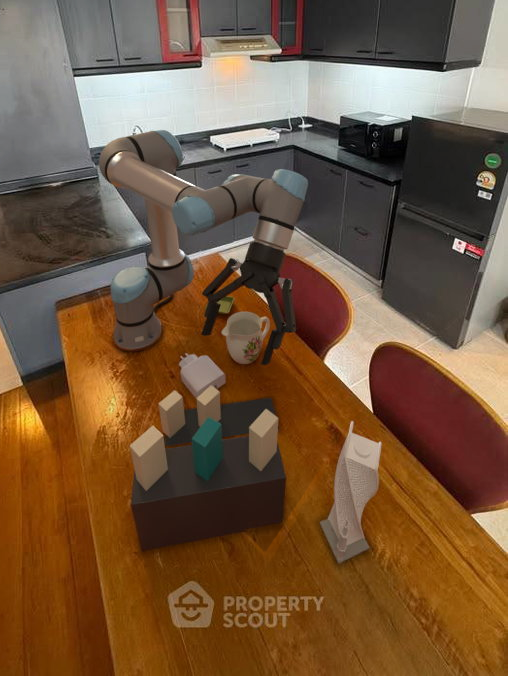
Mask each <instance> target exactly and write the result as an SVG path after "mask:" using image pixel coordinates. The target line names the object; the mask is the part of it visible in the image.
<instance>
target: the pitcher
mask: <svg viewBox="0 0 508 676" xmlns="http://www.w3.org/2000/svg"><path fill="white" fill-rule="evenodd" d="M264 322H265V327H264V330H263V331H262V328H263V323H264ZM270 328H271V322H270V318H268V317H267V316H262V317H260V316H259V315H258V314H256V313H254V312H252V311H244V310H243V311H238V312H235V313H233V314H232V315H230V316H229V317H228V318H227V320H226V325H225V327H223V328H222V330H221V335H222V336H224V337H225V341H226V348H227V351H228V353H229V355H230V357H231V358H232V359H233V361H234V362H236V363H237V364H240V365H249V364H251V363H253V362H255V361H256V360H257V359H258V357H259V355H260V353H261V351H262V348H263V343H264V339H265V338H266V336H267V335H268V333H269V331H270Z"/></svg>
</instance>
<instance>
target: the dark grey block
mask: <svg viewBox="0 0 508 676" xmlns="http://www.w3.org/2000/svg"><path fill="white" fill-rule="evenodd" d="M216 388H217V387H216ZM216 388H214V387H213V386H212V385H211V386H210V387H209V388H207V389H206V390H205V391H204V392H203V393H202V394H201V395H200V396H199V397H197V398H195V399H196V407H194V408H188V409H185V407H184V398H183V396H182V395H181V394H180V393H178V391H177V390H175V389H174V390H173V391H172V392H170V393H169V394H168V395H167V396H166V397H165V398H163V399H162V400H161V401H160V402H158V410H159V417H160V424H161V431H162V432H163V434H165V441H164V445H165V447H171V446H177V445H183V444H189V443H191V444H192V438H193V436H194V435H195V434H196V432H197V431H198V430H199V428H200V427H201V426H202V424H203V423H204V422H205V420H206V419H207V418H208V417H210V418H212V419H214V420H215V421H217V422H219V423H220V424H221V425H222V439H223V438H229V437H234V436H235V437H236V436H241V435H242V436H243V435H247V434H248V435H249V427H250V426H251V425H252V424H253V422H254V421H255V420H256V419H257V418H258V417H259V416H260V415H261V414H262V413H263V411H264V410H265V409H267V410H268V411H270V412H271V413H272V414H274V415H275V416H276V417H277V414H276V410H275V407H274V402H273V398H272V397H265V398H259V399H251V400H250V399H249V400H243V401H238V402H237V401H236V402H229V403H223V404H221V391H219V390H218V388H217V389H216ZM278 430H280V427H279V425H278Z"/></svg>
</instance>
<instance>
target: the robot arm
mask: <svg viewBox="0 0 508 676" xmlns="http://www.w3.org/2000/svg"><path fill="white" fill-rule="evenodd" d="M183 161H184V153H183V149H182V146H181V144H180V142H179V140H178V139H177V138H176V136H175V135H174V134H173V133H172V132H170V131H168V130H165V129H159V130H150V131H145V132H141V133H136V134H132V135H128V136H122V137H117V138H115V139H113V140H111V141H110V142H108V143H107V144H106V145H105V146H104V148H103V149H102V150H101V153H100V155H99V160H98V167H99V171H100V173H101V175H102V176H103V178H104V179H105V181H107V182H108V183H109V184H111V185H112V186H114V187H116V188H118V189H127V190H129V191H131V192H133V193H135V194H137V195H138V196H140V197H142V198H144V205H145V211H146V212H145V213H146V219H147V226H148V231H149V239H150V246H151V253H150V254H149V255H148V257H147V259H148V266H146V267H143V266H140V265H135V266H129V267H125V268H123V269H121V270H120V271H118V272H117V273H116V274H115V275H114V276H113V278H112V279H111V282H110V298H111V301H112V304H113V311H114V316H115V319H116V320H115V324H114V328H113V333H112V338H113V342H114V344H115V346H116V348H118V349H119V350H121V351H124V352H127V353H137V352H143V351H145V350H147V349H150V348H151V347H153V346H154V345H155V344H156V343H157V342H158V341H159V340H160V339H161V336H162V333H163V328H162V323H161V320H160V319H159V317H158V315H156V313H155V310H156V309H157V308H158V307H160V306H162V305H164V304H165V303H167V302H169V301H171V299H172V298H173V296H174V294H175V293H177V292H181V291H182V290H184V289H185V288H186V287H188V286H189V285H190V284H191V283H192V281H193V279H194V276H195V275H194V274H195V273H194V271H195V270H194V266H193V264H192V260H191V259H190V257H189V256H188V255H187V254H185V252H184V251H183V250H182V249H180V244H179V235H178V229H179V231H180V233H181V234H183V235H185V236H190V237H192V236H195V235H198V234H203V233H206V232H208V231H210V230H212V229H213V228H215V227H218V226H220V225H222V224H224V223H226V222H229V221H231V220H233V219H236V218H238V217H241V216H243V215H245V214H247V213H249V212H250V213H251V212H253V213H257V214H259V216H258V220H257V222H256V225H255V227H254V231H253V233H252V236H251V237H252V239H253V241H251V242H249V246H248V248H247V251H246V254H245V257H244V260H243V261H242V262H241V261H239V259H237V258H233V257H230V258H229V259H228V261H227V263H226V265H225V267H224V268H223V269H222V271H220V272H219V273H218V274H217V276H215V277H214V279H213V280H212V281H211V282H210V283H209V284H208V285H207V286H206V287H205V288H204V289H203V291H202V296H204V297H206V299H207V300H208V302H207V304H208V305H207V304H206V306H207V308H206V307H205V308H206V309H204V313H203V314H204V317H205V318H206V319H205V322H204V325H203V328H202V330H201V334H200V335H202V336H204V337H205V336H210V335H212V332H213V329H214V326H215V323H216V320H217V317H218V314H219V313H218V311H219V309H220V306H221V304H219V303H217V302H219V301H220V300H221V299H223V298H224V297H226V296H230V295H231V294H233V293H234V292H235V291H237V290H238V289H240V288H242V287H245V288H246V289H248V290H249V289H250V290H253V291H255V292H256V293H259V294H263V296H264V298H265V299H266V303H267V305H268V308H269V311H270V314H271V317H272V320H273V323H274V326H275V328H273V329H272V330H271V331H270V335H269V338H268V341H267V344H266V347H265V350H264V353H263V356H262V359H261V363H260V364H261V365H263V366H266V365H267V366H268V365H270V363H271V359H272V356H273V353H274V350H279V348H280V347H281V345H282V342H283V340H284V336H285V334H287V333H288V334H291V333H295V332H296V331H297V325H296V317H295V316H296V315H295V308H294V299H293V288H294V280H293V279H292V278H283V277H281V276H280V274H281V271H282V267H283V265H284V261H285V258H286V255H287V254H286V252H285V250H288V249H289V246H290V243H291V240H292V237H293V234H294V230H295V226H296V223H297V221H298V218H299V216H300V213H301V210H302V207H303V205H304V202H305V201H306V194H307V190H308V187H309V181H308V179H307V178H306V177H305V176H303V174H301V173H298V172H295V171H293V170H289V169H285V168H280V169H275V170H274V172H273V175H272V176H271V178H264V177H258V176H252V175H249V174H245V173H243V174H241V173H240V174H239V173H238V174H231V175H228V177H227V178H226V180H224V181H223V182H222V184H220V185H217V186H215V187H212V188H208V189H203V188H201V187H199V186H197V185H194V184H192V183H190V182H188V181H185V180H183V179H181V178H180V177H177V168H179V167H181V165H182V164H183ZM238 270H239V273H240V275H239V276H238V277H237V278H236V279H234V280H233V281H232V282H230V283H229V284H227V285H225V286H224V287H223V288H221V286H222V285H223V284H224V283H225V282H226V281H227V280H228V279H229V278H230V277H231V276H232V275H233V274H234V273H235V271H238ZM278 284H279V287H280V289H281V293H282V303H283V311H284V316H283V314H282V311H281V308H280V305H279V302H278V299H277V295H276V292H275V288H274V287H275V286H277V285H278ZM219 288H221V289H219ZM158 302H159V303H158Z"/></svg>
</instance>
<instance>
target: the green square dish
mask: <svg viewBox="0 0 508 676" xmlns="http://www.w3.org/2000/svg"><path fill="white" fill-rule="evenodd" d="M235 299H236V297H234V296H229V295H227V296H226V297H224V298H223V299H221V300H220V301H219V302H217V303H219V304H221V306H220V309H219V311H218V314H221V315H228V314H230V311H231V309H232V306H233V303H234V301H235ZM207 305H208V303H207V304H206V305H205V308H204V310H206V308H207Z"/></svg>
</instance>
